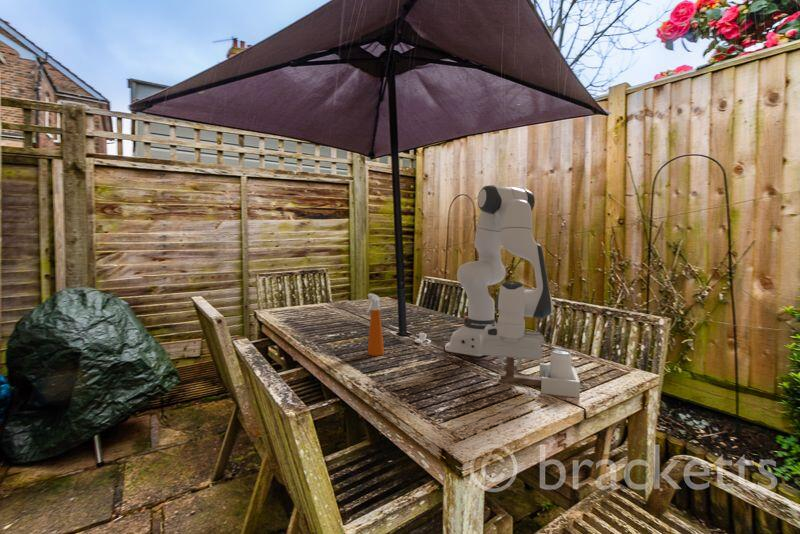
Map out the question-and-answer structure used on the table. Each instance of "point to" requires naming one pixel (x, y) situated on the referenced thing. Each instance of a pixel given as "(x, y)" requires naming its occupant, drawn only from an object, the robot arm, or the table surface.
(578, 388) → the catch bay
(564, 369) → the can
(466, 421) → the table surface
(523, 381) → the brown l-shaped rod
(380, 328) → the spray bottle
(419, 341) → the teacup and saucer
